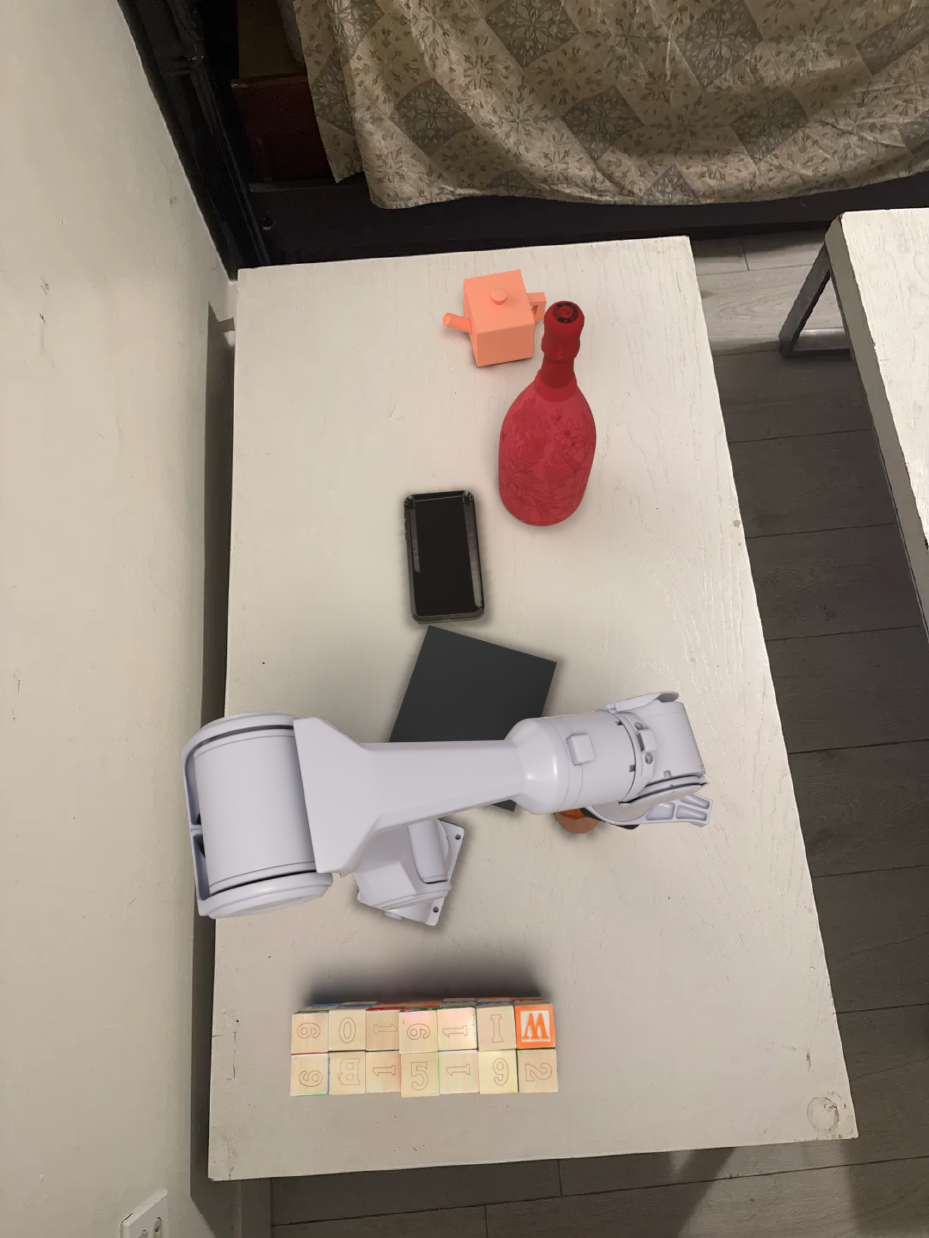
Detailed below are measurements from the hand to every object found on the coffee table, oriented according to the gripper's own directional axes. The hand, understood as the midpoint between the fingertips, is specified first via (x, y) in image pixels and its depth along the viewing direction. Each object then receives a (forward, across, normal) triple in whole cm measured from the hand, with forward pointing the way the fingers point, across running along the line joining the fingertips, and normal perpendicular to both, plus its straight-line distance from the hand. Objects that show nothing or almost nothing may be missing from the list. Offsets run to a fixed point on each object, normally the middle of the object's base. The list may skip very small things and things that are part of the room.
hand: (605, 802), depth 78 cm
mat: (+8, +15, -6) cm, 18 cm away
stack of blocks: (+9, +9, +24) cm, 27 cm away
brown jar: (+8, +2, 0) cm, 8 cm away
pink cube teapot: (+9, +26, -51) cm, 58 cm away
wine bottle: (+9, +15, -33) cm, 37 cm away
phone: (+8, +23, -22) cm, 33 cm away
